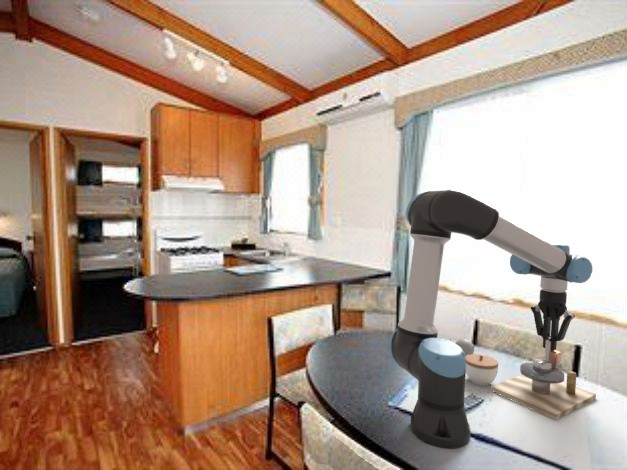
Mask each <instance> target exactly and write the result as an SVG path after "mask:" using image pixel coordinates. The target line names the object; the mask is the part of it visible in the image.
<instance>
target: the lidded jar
mask: <svg viewBox="0 0 627 470" xmlns="http://www.w3.org/2000/svg"><path fill="white" fill-rule="evenodd" d="M465 359H466V375H467V378H469V380H470V382H471V383H473V384H475V385H477V386H481V387H482V386H484V387H485V386H489V385H490V384H492V383H493V382H494V381H495V379H496V378H497V375H498V369H499V361H498V360H497V359H496V358H494V357H491V356H488V355H486V354H485V355H484V354H479V353H477V354H476V353H473V354H469V355H466V356H465Z"/></svg>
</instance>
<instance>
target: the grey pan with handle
mask: <svg viewBox="0 0 627 470" xmlns="http://www.w3.org/2000/svg"><path fill="white" fill-rule="evenodd" d="M561 358H562V351H559V350H557V349H556V350H554V351H553V350H551V351H549V360H547V359H544V358H543V359H542V358H541V359H540V358H534V359H532V362H524V363H522V364H520V369H519V372H520V373H521V375H522V374H523V375H524V376H526V377H528V378H530V379H533V380H536V381H539V382H544V383H561V382H564V381H565V373H564V372H563V370H560V369H562V367H563V365H562V362H561V361H562V360H561Z"/></svg>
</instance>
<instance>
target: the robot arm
mask: <svg viewBox="0 0 627 470" xmlns="http://www.w3.org/2000/svg"><path fill="white" fill-rule="evenodd" d="M405 217H406V220H407V222H408V224H409V225H410V233H409V236H410V237H411V238H412V239H413V247H412V248H413V249H412V256H411V263H410V271H409V280H408V285H407V293H406V301H405V309H404V315H403V319H402V320H401V321H399V322H398V323H397V328H396V329H395V331H394V332H392V333H391V335H390V337H389V339H388V340H389V341H388V350H389V353H390V356H391V358H392V359H393V361H394V362H395V363H396V364H397V365H398V366H399V367H401V368H402V369H403V370H405V372H408V374H410V375H411V376H412V377H413V378H414V379H416V380H417V382H418V383H417V385H418V386H417V400H416V403H415V405H414V408H413V410H412V413H411V416H410V425H409V426H410V430H411V432H412V435H414V436H415V437H416V438H417V439H419V440H420V441H422V442H424V443H426V444H428V445H431V446H433V447H439V448H443V449H457V448H462V447H465V446H466V445H467V444H469V442H470V441H471V440H470V439H471V425H470V423H469V420H468V417H467V412H466V408H465V395H466V394H465V393H466V392H465V390H466V375H467V374H466V359H465V353H464V351H463V350H462V348H461V347H460V346H458V345H457V344H455V343H456V342H455V343H453V342H454V341H453V342H451V341H452V340H451V341H450V340H449V339H448V340H446V339H445V338H441V337H438V334H439V330H438V328H437V327H436V326H435V324H434V323H435V314H436V309H437V308H436V307H437V299H438V292H439V286H440V280H441V279H440V278H441V270H442V264H443V256H444V249H445V248H444V247H445V245H446V244H447V243H448V242H449V241H450V240H451V239H452V234H453V233H454V234H460V235H465V236H468V237H470V238H472V239H474V240H476V241H481V240H484V241H486V242H488V243H490V244H492V245H493V246H496V247H498V248H499V249H501V250H503V251H505V252H507V253H509V254H510V258H509V265H510V269H511V270H512V271H513V272H514V273H515V274H517V275H534V276H540V283H539V284H540V285H539V287H540V289H539V302H538V304H536V305H533V306H531V307H530V309H531V312H532V314H533V317H534V324H535V329H536V334H537V336H539V337H541V338H542V348H543V349H544V360H546V361H549V351H551V350H553V351H554V350H556V351H557V344H558V342H561V341H564V339H565V337H566V334H567V331H568V329H569V326H570V324H571V322H572V321H573V319H575V314H574V313H570V312H569V311H568V307H567V299H568V298H567V296H568V294H567V290H568V283H575V284H576V283H577V284H583V283H586V282H587V281H589V279H590V278H591V276H592V273H593V265H592V262H591V261H590V259H588V258H587V257H584V256H580V255H573V254H570V251H571V250H570V246H569V245H568V244H565V243H561V242H560V243H558V242H549V241H546V240H544V239H543V238H541V237H539V236H538V235H535V234H534V233H532V232H530V231H529V230H527V229H525V228H523V227H521V226H520V225H518V224H516V223H514V222H512V221H510V220H509V219H507V218H505V217H504V216H501V215H500V212H499V210H498V209H497V208H495V207H493V206H492V205H491V204H489V203H487V202H485V201H484V200H481V199H479V198H478V197H476V196H473V195H471V194H469V193H466V192H464V191H461V190H457V189H447V190H431V191H429V190H428V191H425V192H421V193H418V194H416V195H415V196H414V197H412V198H411V199H410V201H409V203H408V204H407V206H406V210H405ZM562 316H563V318H564V319H563V320H562V322H561V326H560V320H561V317H562ZM559 327H560V328H559Z"/></svg>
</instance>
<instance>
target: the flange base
mask: <svg viewBox="0 0 627 470" xmlns="http://www.w3.org/2000/svg"><path fill="white" fill-rule="evenodd" d="M491 390H492V391H491ZM490 391H491V392H493V391H494V392H493V393H495V392H496V393H495V394H497V393H498V394H497V395H499V394H501V395H503V396H502V397H504V396H505V397H504V398H506V397H507V398H506V399H508V398H509V399H508V400H510V399H512V400H511V401H513V400H514V401H513V402H515V401H516V402H515V403H517V402H518V403H517V404H519V403H520V404H519V405H521V404H523V405H522V406H524V405H525V406H524V407H526V406H527V407H526V408H528V407H529V409H530V408H532V409H531V410H533V409H534V410H533V411H535V412H537V411H538V412H537V413H539V412H540V413H539V414H541V415H543V416H547V417H549V418H550V419H553V420H554V421H557V420H559V419H560V418H563V417H564V416H567V415H569V414H570V413H572V412H573V411H575V410H577V409H579V408H581V407H583V406H585V405H587V404H589V403H591V402H592V401H594V400H596V399H597V397H596V396H597V394H596V393H593V392H591V391H588V390H585V389H583V388H579V387H577V373H576V371H575V372H574V371H572V370H568V371H567V372H566V382H564V381H563V382H561V383H544V382H539V381H536V380H533V379H530V378H528V377H526V376H524V375H523V374H522V373H521V374H520V375H519V374H518V375H517V376H514V377H512V378H509V379H507V380H504V381H502V382H499V383H497V384H493V385H491V387H490ZM501 395H500V396H501Z"/></svg>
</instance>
